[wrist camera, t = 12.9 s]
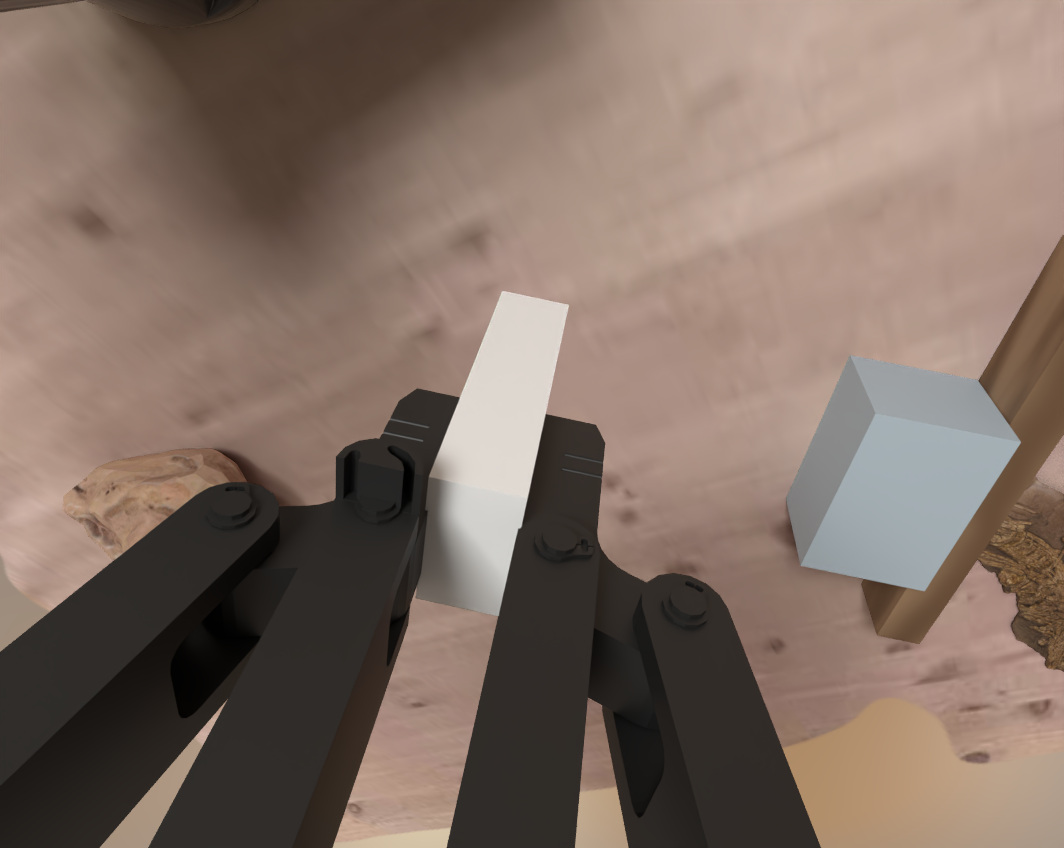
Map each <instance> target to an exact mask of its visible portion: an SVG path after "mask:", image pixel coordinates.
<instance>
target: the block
mask: <svg viewBox="0 0 1064 848" xmlns="http://www.w3.org/2000/svg"><path fill="white" fill-rule="evenodd" d="M1020 443H1021V441H1020V440H1019V438H1018V437H1017V436H1016V434H1015V433H1014V431H1013V430H1012V428H1011V427H1010V426H1009V424H1008V423H1007V421H1006V420H1005V418H1004V417H1003V416H1002V414H1001V413H1000V411H999V410H998V408H997V407H996V406H995V404H994V403H993V401H992V400H991V398H990V397H989V396H988V394H987V393H986V391H985V390H984V388H983V387H982V386H981V384H980V383H979V381H978V380H976V379H970V378H965V377H960V376H955V375H950V374H945V373H940V372H934V371H929V370H924V369H919V368H914V367H909V366H904V365H898V364H893V363H888V362H883V361H878V360H873V359H868V358H862V357H857V356H852V355H850V356H849V358H848V361H847V363H846V365H845V367H844V370H843V372H842V374H841V376H840V379H839V381H838V383H837V385H836V388H835V390H834V392H833V394H832V396H831V399H830V401H829V403H828V405H827V408H826V410H825V412H824V414H823V417H822V419H821V421H820V423H819V426H818V428H817V430H816V432H815V435H814V437H813V439H812V441H811V444H810V446H809V448H808V450H807V453H806V455H805V457H804V459H803V461H802V464H801V466H800V468H799V470H798V473H797V475H796V477H795V479H794V482H793V484H792V486H791V488H790V491H789V493H788V495H787V497H786V501H787V506H788V511H789V515H790V520H791V524H792V529H793V534H794V538H795V543H796V547H797V552H798V556H799V561H800V566H804V567H809V568H814V569H819V570H824V571H828V572H833V573H838V574H843V575H848V576H853V577H857V578H862V579H867V580H872V581H877V582H882V583H886V584H891V585H896V586H901V587H906V588H911V589H915V590H920V591H925V590H926V588H927V587H928V585H929V584H930V582H931V581H932V579H933V577H934V576H935V574H936V573H937V571H938V570H939V568H940V567H941V565H942V564H943V562H944V561H945V559H946V557H947V556H948V554H949V553H950V551H951V550H952V548H953V547H954V545H955V544H956V542H957V540H958V539H959V537H960V536H961V534H962V533H963V531H964V530H965V528H966V527H967V525H968V523H969V522H970V520H971V519H972V517H973V516H974V514H975V513H976V511H977V510H978V508H979V507H980V505H981V503H982V502H983V500H984V499H985V497H986V496H987V494H988V493H989V491H990V490H991V488H992V486H993V485H994V483H995V482H996V480H997V479H998V477H999V476H1000V474H1001V473H1002V471H1003V469H1004V468H1005V466H1006V465H1007V463H1008V462H1009V460H1010V459H1011V457H1012V456H1013V454H1014V453H1015V451H1016V449H1017V448H1018V446H1019V445H1020Z"/></svg>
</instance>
